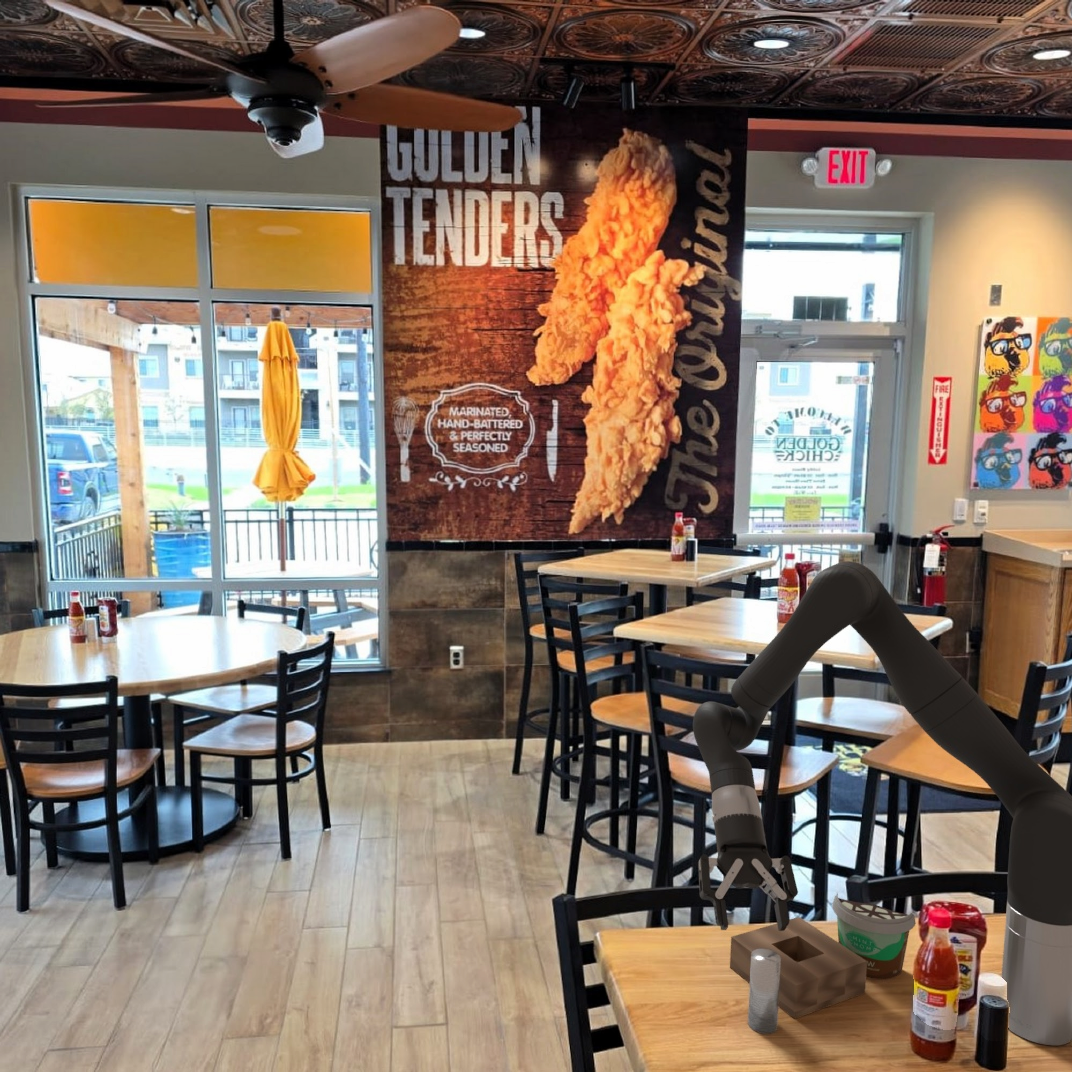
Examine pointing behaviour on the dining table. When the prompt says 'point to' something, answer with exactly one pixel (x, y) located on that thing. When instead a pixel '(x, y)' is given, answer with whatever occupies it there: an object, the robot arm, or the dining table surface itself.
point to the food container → (874, 935)
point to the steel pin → (764, 991)
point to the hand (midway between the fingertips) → (753, 929)
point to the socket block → (803, 965)
